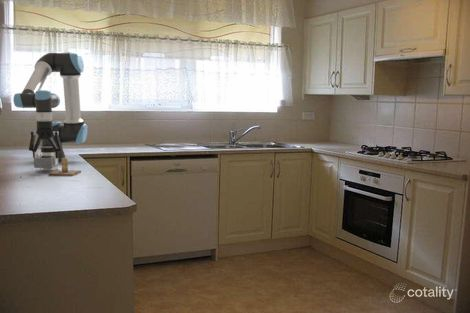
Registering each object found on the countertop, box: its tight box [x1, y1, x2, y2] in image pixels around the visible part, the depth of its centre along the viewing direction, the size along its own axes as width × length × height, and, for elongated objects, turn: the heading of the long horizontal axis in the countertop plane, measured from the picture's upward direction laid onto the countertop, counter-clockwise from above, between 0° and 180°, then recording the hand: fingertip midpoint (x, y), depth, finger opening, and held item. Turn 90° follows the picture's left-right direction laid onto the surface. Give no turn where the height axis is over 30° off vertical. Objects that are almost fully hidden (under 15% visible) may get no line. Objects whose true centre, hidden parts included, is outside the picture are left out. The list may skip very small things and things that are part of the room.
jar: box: [39, 146, 59, 171], centre depth 264 cm, size 9×8×12 cm
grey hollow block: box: [33, 155, 59, 169], centre depth 256 cm, size 9×9×5 cm
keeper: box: [48, 157, 82, 177], centre depth 249 cm, size 12×12×8 cm
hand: (46, 164), depth 256 cm, fingers closed on grey hollow block, 9 cm apart
